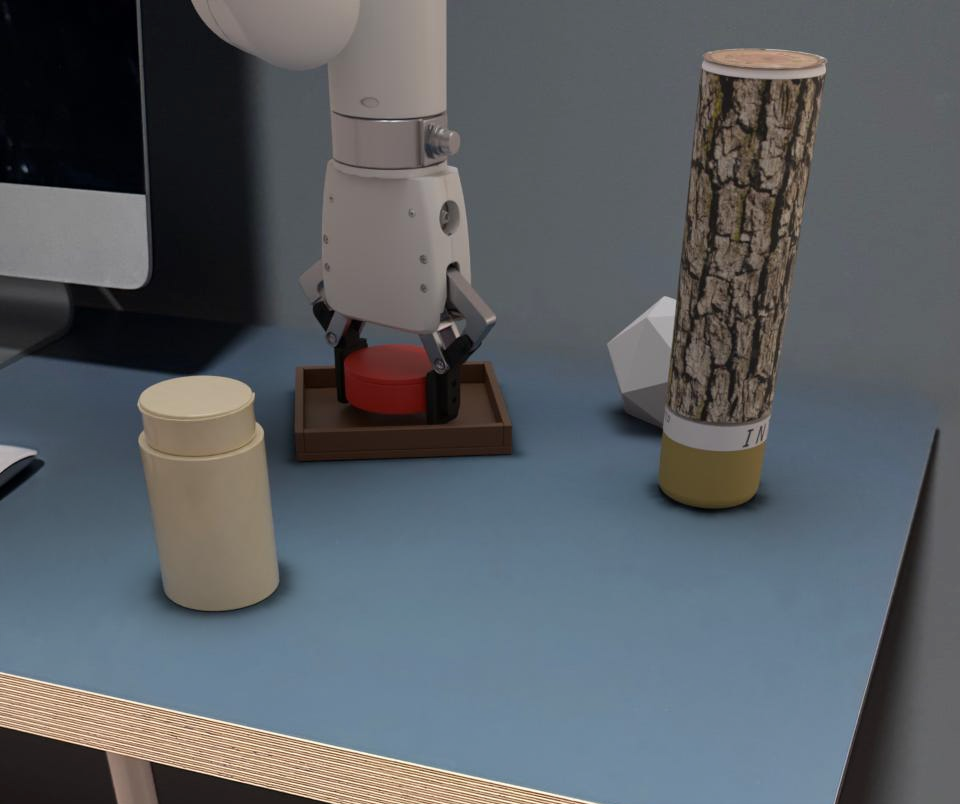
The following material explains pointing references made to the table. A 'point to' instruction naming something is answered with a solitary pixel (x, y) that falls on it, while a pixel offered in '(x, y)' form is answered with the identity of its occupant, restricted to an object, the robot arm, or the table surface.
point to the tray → (398, 421)
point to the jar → (208, 492)
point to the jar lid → (387, 378)
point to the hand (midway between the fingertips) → (397, 408)
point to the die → (645, 361)
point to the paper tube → (737, 268)
